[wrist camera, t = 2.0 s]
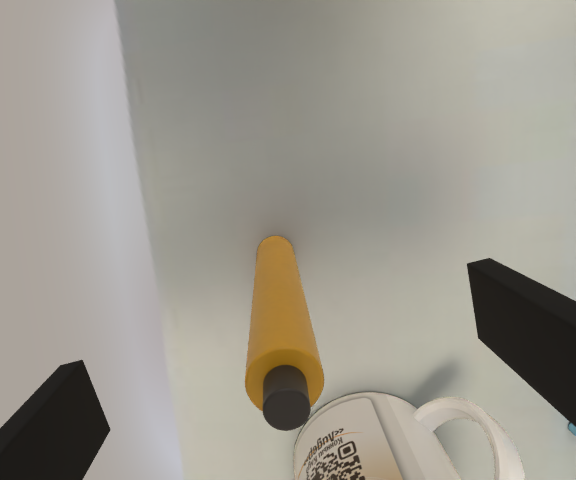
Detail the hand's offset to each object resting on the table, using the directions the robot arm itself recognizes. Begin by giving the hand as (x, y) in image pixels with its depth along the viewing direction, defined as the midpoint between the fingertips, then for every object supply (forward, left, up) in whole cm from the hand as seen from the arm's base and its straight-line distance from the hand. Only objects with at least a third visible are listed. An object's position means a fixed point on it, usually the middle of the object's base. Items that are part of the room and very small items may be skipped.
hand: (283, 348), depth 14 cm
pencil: (0, 0, -11) cm, 11 cm away
